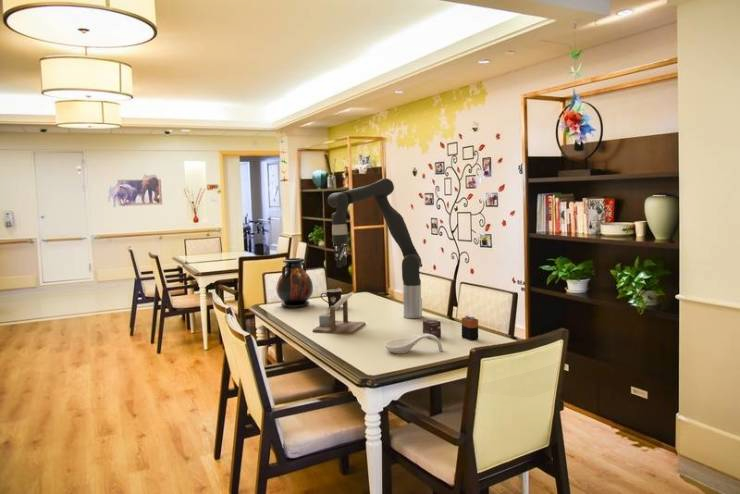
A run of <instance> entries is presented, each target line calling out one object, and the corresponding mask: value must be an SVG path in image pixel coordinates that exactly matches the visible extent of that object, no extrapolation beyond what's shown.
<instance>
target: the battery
mask: <svg viewBox="0 0 740 494" xmlns="http://www.w3.org/2000/svg"><path fill="white" fill-rule="evenodd" d="M461 339H465V340H468V341H472V342H473V341H477V340H478V339H479V319H478V318H475V316H469V315H465V316H464V317H462V318H461Z"/></svg>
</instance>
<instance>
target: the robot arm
mask: <svg viewBox="0 0 740 494" xmlns="http://www.w3.org/2000/svg"><path fill="white" fill-rule="evenodd" d="M394 189H395V185H394V183H393V181H392V180H391V179H389V178H386V177H384V178H381V179H378V180H377V181H375V182H373V183H371V184H367V185H364V186H359V187H356V188H352V189H348V190H345V191H339V192H333V193H331V194H329V196H328V197H327V204H328V205H329V206H330V207H331V208H336V210H335V212H333V213H332V214H331V224H332V225H331V235H332V236H331V237H332V238H331V239H332V244H334V245H336V246H333V256H334V260H335V261H336V268H338V269H339V268H342V266H347V265H348V264H347V257H348V256H349V254H348V252H349V251H348V250H349V249H348V243H349V236H348V235H349V234H348V233H349V232H348V224H347V212H348V207H349V205H350V204H351V205H352V204H356V203H360V202H362V201H365V200H367V199H370V198H372V197H373V198H374V200H375V202H376V204H377V206H378V208H379V209H380V212H381V214H382V216H383V219H384V221H385V223H386V226H387V228H388V231H389V233H390V235H391V237H392V239H393V240H394V241H395V243H396V244H397V245H398V248H399V249H400V251H401V254H402V257H403V259H402V260H401V276H402V277H401V278H402V282H403V283H402V284H403V285H402V287H403V288H402V291H403V318H405V319H421V317H422V316H423V298H422V281H421V276H420V268H421V266H422V258H421V257H420V254H419V253H418V251H417V249H416V248H415V245H414V243H413V241H412V237H411V235H410V232H409V230H408V227H407V224H406V222H405V219H404V217H403V216H402V215H401V213H400V212H398V211H397V210H396V209H395V208H394V207H393V206H392V205H391V203H390V201H389V199H388V196H389V195H391V194H393V192H394Z"/></svg>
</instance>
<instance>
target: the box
mask: <svg viewBox="0 0 740 494" xmlns="http://www.w3.org/2000/svg"><path fill="white" fill-rule="evenodd" d="M441 323H442V322H441V321H440V320H436V319H427V320H422V334H424V333H427V334H432V335H434V336H436V337H437V338H438V339H439V338H440V339H441V337H442V331H441V326H442V325H441ZM428 339H429V340H432V339H431V338H428Z"/></svg>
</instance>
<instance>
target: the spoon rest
mask: <svg viewBox="0 0 740 494" xmlns="http://www.w3.org/2000/svg"><path fill="white" fill-rule="evenodd" d="M429 338H431V339H430V340H434V341H435V343H437V348H438V351H440V352H443V346H442V343H441V341H440V339H439V338H437V337H436V336H434V335H432V334H427V333H424V334H423V333H420V334H419V333H418V334H416V335H413V336H409V337H404V338H397V339H391V340H389V341H386V342H385V343H384V347H385V349H386V350H387V351H389V352H391V353H394V354H399V355H401V354H402V355H403V354H406V353H408V352H409V351H410V350H412V349H413V347H414V346H415V345H416V344H417V343H418V342H420V341H421V340H423V339H429Z"/></svg>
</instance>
